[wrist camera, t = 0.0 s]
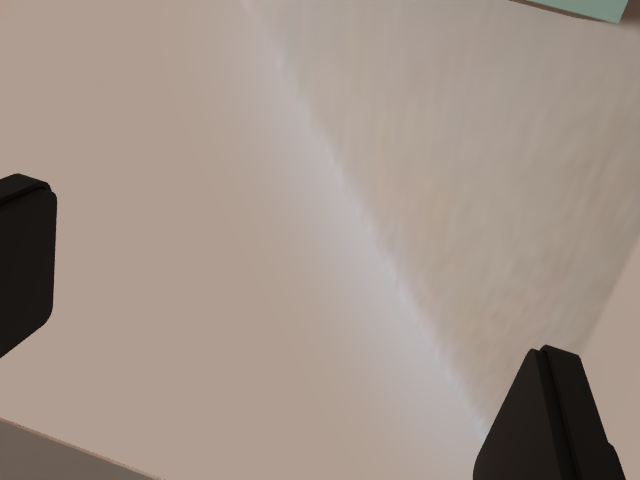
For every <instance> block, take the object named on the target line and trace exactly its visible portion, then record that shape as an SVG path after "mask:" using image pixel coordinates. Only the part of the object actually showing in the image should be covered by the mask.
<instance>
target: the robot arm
mask: <svg viewBox="0 0 640 480" xmlns="http://www.w3.org/2000/svg"><path fill="white" fill-rule="evenodd" d="M56 217H57V197H56V194H55V193H53V192H52V191H51V188H50V185H49V184H48V183H47V182H44V181H40V180H38V179H35V178H31V177H28V176H25V175H22V174H13V175H10V176H8V177H5V178H2V179H0V358H1V357H2V356H4V355H5V354H7V353H8V352H9V351H10V350H12V349H13V348H14V347H16V346H17V345H18V344H19V343H21V342H22V341H23V340H25V339H26V338H27V337H29V336H30V335H31V334H32V333H34V332H35V331H36V330H38V329H39V328H40V327H41V326H43V325H44V324H45V323H46V322H47V320H48V319H49V317H50V315H51V312H52V308H53V289H54V266H55V241H56ZM0 480H164V479H161V478H159V477H156V476H154V475H151V474H148V473H146V472H143V471H140V470H138V469H135V468H132V467H130V466H127V465H125V464H122V463H119V462H117V461H114V460H111V459H109V458H106V457H103V456H101V455H98V454H95V453H93V452H90V451H87V450H85V449H82V448H80V447H77V446H74V445H71V444H69V443H66V442H64V441H61V440H58V439H56V438H53V437H50V436H48V435H45V434H42V433H40V432H37V431H35V430H32V429H29V428H26V427H24V426H21V425H19V424H16V423H13V422H11V421H8V420H5V419H3V418H0ZM473 480H626V479H625V476H624V473H623V470H622V467H621V464H620V461H619V458H618V455H617V453H616V451H615V449H614V447H613V446H612V445H611V444H610V443H608V440H607V437H606V434H605V432H604V428H603V425H602V422H601V419H600V416H599V413H598V410H597V407H596V404H595V401H594V398H593V395H592V392H591V389H590V386H589V383H588V380H587V377H586V374H585V371H584V368H583V365H582V362H581V359H580V357H579V355H576V354H573V353H570V352H567V351H564V350H561V349H558V348H555V347H552V346H549V345H544V346H543V347H542V348H541V349H540V351H538V350H535V349H530V350H529V352H528V353H527V355H526V357H525V359H524V361H523V363H522V365H521V367H520V369H519V371H518V373H517V375H516V377H515V379H514V382H513V384H512V386H511V388H510V390H509V392H508V394H507V396H506V398H505V400H504V402H503V404H502V406H501V408H500V411H499V413H498V415H497V417H496V419H495V421H494V423H493V425H492V427H491V429H490V431H489V433H488V435H487V437H486V440H485V442H484V444H483V446H482V448H481V450H480V452H479V454H478V456H477V459H476V462H475V466H474V471H473Z"/></svg>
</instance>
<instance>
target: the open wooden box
mask: <svg viewBox="0 0 640 480" xmlns="http://www.w3.org/2000/svg"><path fill="white" fill-rule="evenodd" d="M510 1H514V2H518V3H522V4H526V5H529V6H533V7H537V8H541V9H545V10H548V11H552V12H556V13H560V14H564V15H567V16H571V17H575V18H581V19H588V20H596V21H603V20H599V19H595V18H592V17H588V16H584V15H580V14H576V13H572V12H569V11H565V10H561V9H557V8H553V7H550V6H546V5H542V4H538V3H534V2H530V1H527V0H510ZM603 22H607V21H603Z"/></svg>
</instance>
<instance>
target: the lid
mask: <svg viewBox="0 0 640 480" xmlns="http://www.w3.org/2000/svg"><path fill="white" fill-rule="evenodd" d="M527 1H530V2H534V3H538V4H542V5H546V6H550V7H553V8H557V9H561V10H565V11H569V12H572V13H576V14H580V15H584V16H588V17H592V18H595V19H599V20H603V21H607V22H611V23H617V24H618V23H619V21H620V18H621V16H622V14H623V12H624V9H625V7H626V5H627V2H628V0H527Z"/></svg>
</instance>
